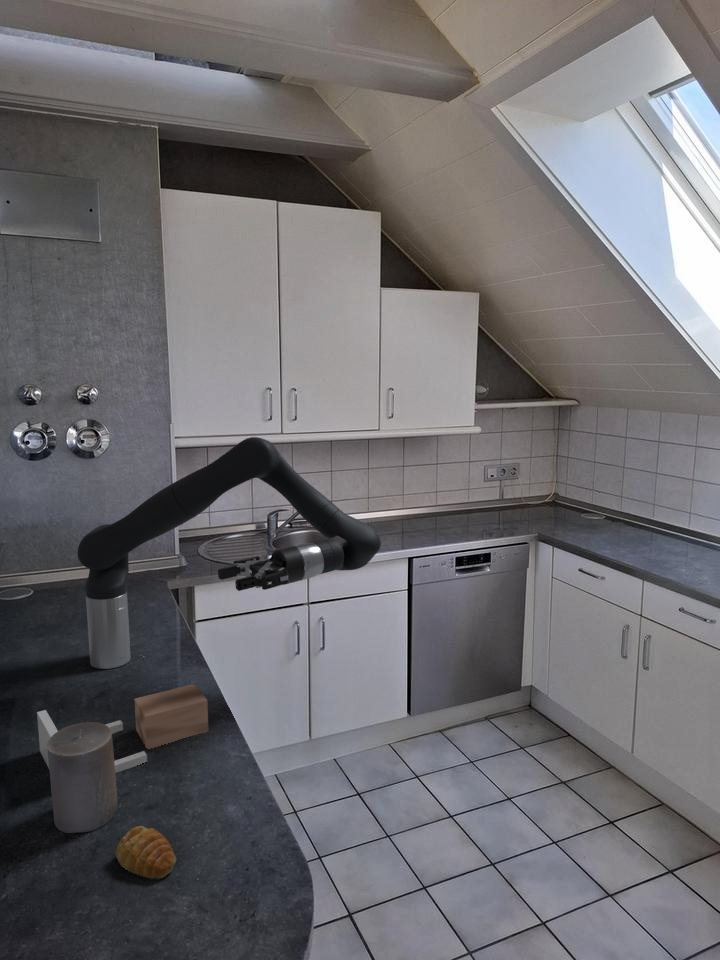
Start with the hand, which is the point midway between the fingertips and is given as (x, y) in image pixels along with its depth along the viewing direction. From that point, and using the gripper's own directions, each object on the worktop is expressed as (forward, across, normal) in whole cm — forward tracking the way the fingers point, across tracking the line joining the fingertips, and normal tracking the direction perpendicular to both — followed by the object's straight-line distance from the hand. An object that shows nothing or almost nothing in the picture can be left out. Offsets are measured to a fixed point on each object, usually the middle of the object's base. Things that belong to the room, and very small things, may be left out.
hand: (227, 580), depth 140 cm
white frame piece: (+28, 0, +28) cm, 40 cm away
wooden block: (+14, 0, +28) cm, 32 cm away
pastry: (+30, +32, +28) cm, 52 cm away
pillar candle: (+34, +16, +28) cm, 47 cm away
